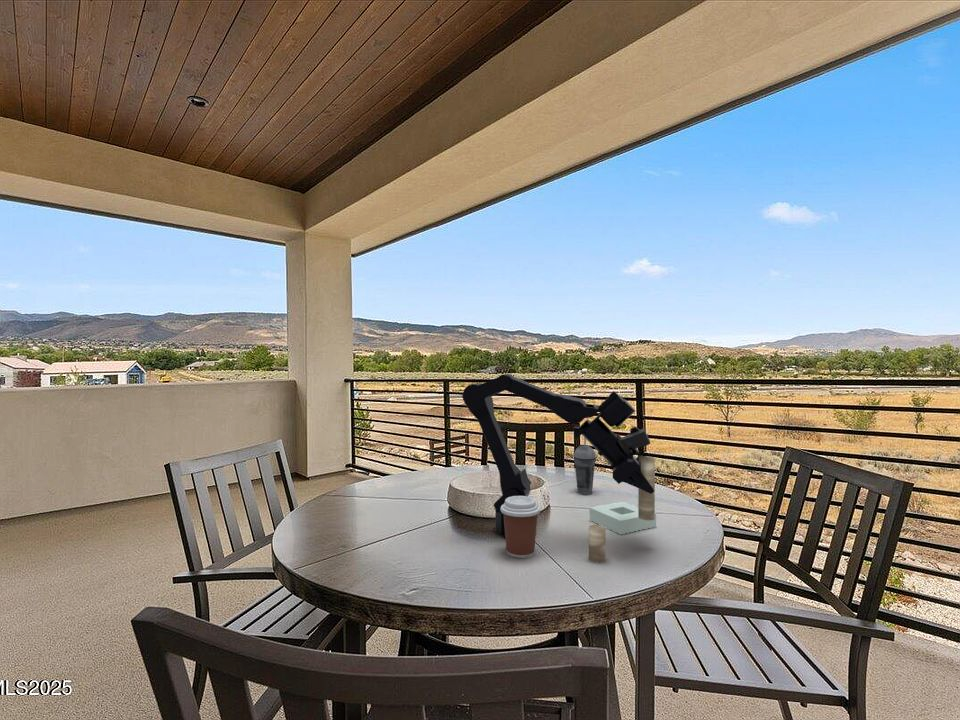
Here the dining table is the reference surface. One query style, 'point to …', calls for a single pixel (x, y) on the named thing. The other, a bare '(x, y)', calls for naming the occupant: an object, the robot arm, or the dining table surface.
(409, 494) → the dining table surface
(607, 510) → the collar block
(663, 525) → the dining table surface
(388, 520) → the dining table surface
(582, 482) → the beverage cup
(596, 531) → the short pin
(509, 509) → the coffee cup
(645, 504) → the tall pin
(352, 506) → the dining table surface
